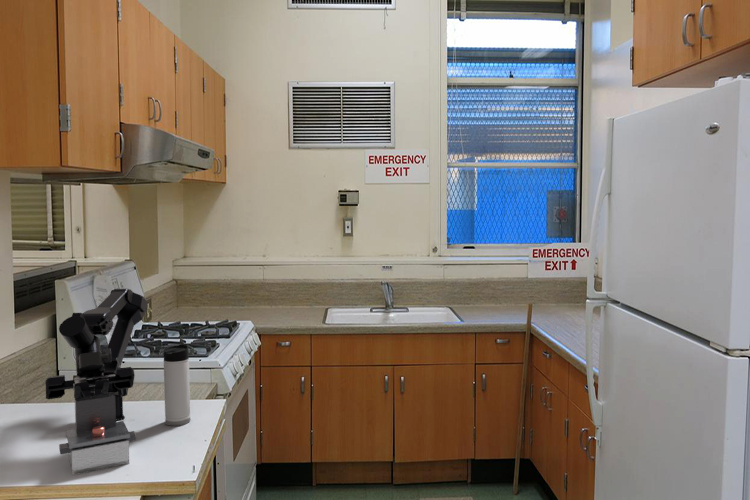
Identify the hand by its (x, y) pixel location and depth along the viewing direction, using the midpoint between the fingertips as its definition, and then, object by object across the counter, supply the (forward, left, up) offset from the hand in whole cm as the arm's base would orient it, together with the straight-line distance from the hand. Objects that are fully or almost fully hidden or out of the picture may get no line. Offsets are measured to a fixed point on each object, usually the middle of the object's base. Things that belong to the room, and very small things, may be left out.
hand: (93, 414), depth 133 cm
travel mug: (-22, -9, -9) cm, 25 cm away
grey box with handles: (0, +6, -9) cm, 11 cm away
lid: (0, +5, -3) cm, 6 cm away
